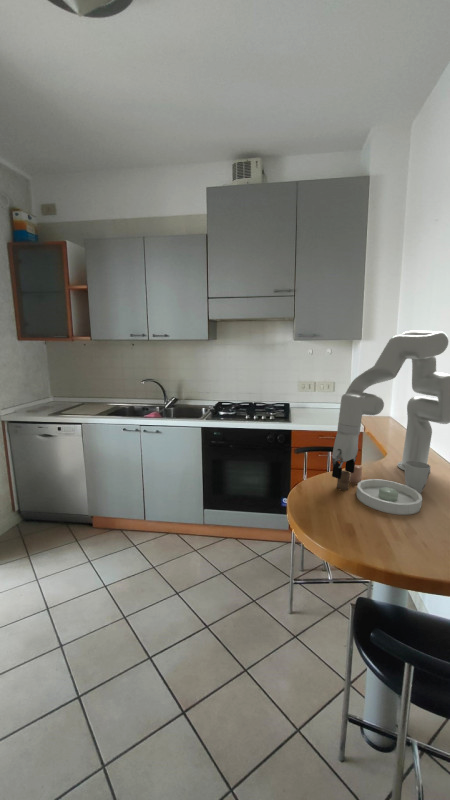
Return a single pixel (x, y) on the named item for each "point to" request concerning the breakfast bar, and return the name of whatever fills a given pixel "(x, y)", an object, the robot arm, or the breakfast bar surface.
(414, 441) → the robot arm
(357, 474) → the pinkish-brown rounded piece
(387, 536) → the breakfast bar surface
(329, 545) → the breakfast bar surface
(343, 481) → the walnut bead
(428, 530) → the breakfast bar surface
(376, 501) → the groove tray
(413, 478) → the cup
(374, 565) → the breakfast bar surface
